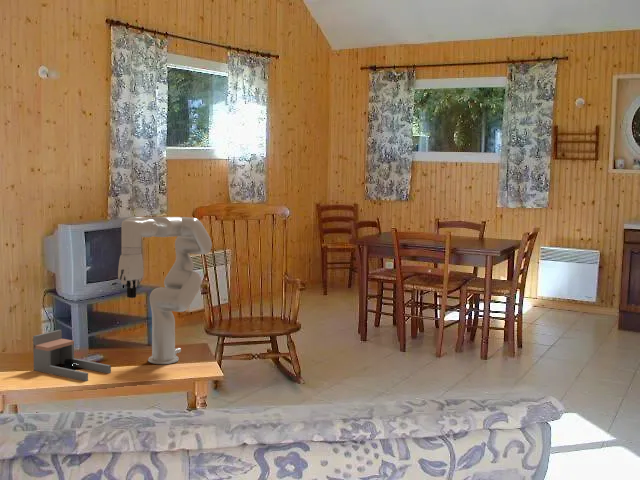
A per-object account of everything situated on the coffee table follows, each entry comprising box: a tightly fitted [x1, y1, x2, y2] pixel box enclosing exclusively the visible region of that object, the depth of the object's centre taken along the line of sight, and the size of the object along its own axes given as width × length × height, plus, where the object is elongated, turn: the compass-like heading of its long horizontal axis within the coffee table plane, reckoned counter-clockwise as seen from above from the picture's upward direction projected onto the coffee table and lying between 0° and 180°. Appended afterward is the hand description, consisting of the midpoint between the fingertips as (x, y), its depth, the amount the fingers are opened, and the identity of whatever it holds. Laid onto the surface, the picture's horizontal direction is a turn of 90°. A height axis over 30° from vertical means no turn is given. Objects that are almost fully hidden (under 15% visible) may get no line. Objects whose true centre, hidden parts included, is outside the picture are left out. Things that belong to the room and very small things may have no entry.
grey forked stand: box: [32, 329, 112, 382], centre depth 297 cm, size 14×28×14 cm, turn 62°
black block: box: [62, 359, 78, 371], centre depth 300 cm, size 12×7×5 cm, turn 11°
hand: (131, 297), depth 294 cm, fingers closed
